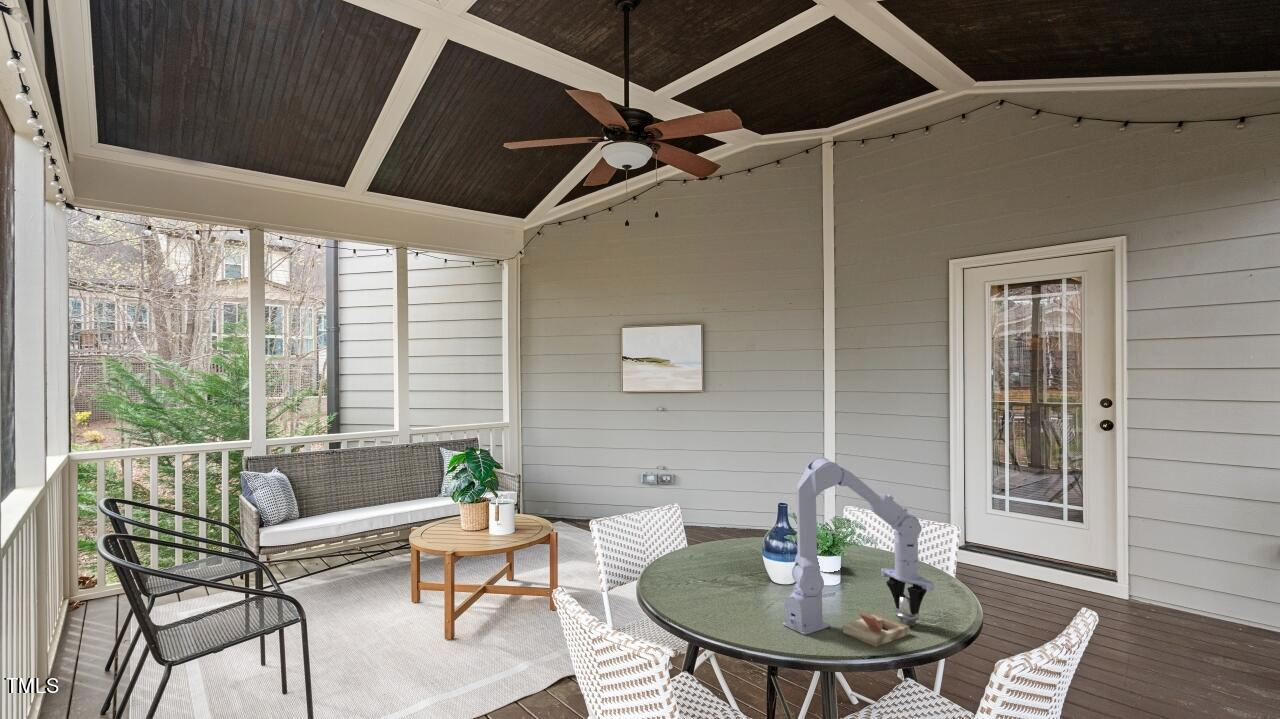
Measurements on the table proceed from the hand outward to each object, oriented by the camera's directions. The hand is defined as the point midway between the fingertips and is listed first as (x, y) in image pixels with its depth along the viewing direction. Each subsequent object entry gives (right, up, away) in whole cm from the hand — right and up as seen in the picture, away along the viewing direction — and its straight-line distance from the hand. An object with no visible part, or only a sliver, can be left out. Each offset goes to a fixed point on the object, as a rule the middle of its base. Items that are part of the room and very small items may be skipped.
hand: (907, 610), depth 166 cm
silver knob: (0, -3, 0) cm, 3 cm away
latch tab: (-13, 0, -8) cm, 15 cm away
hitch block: (-10, -4, -5) cm, 12 cm away
